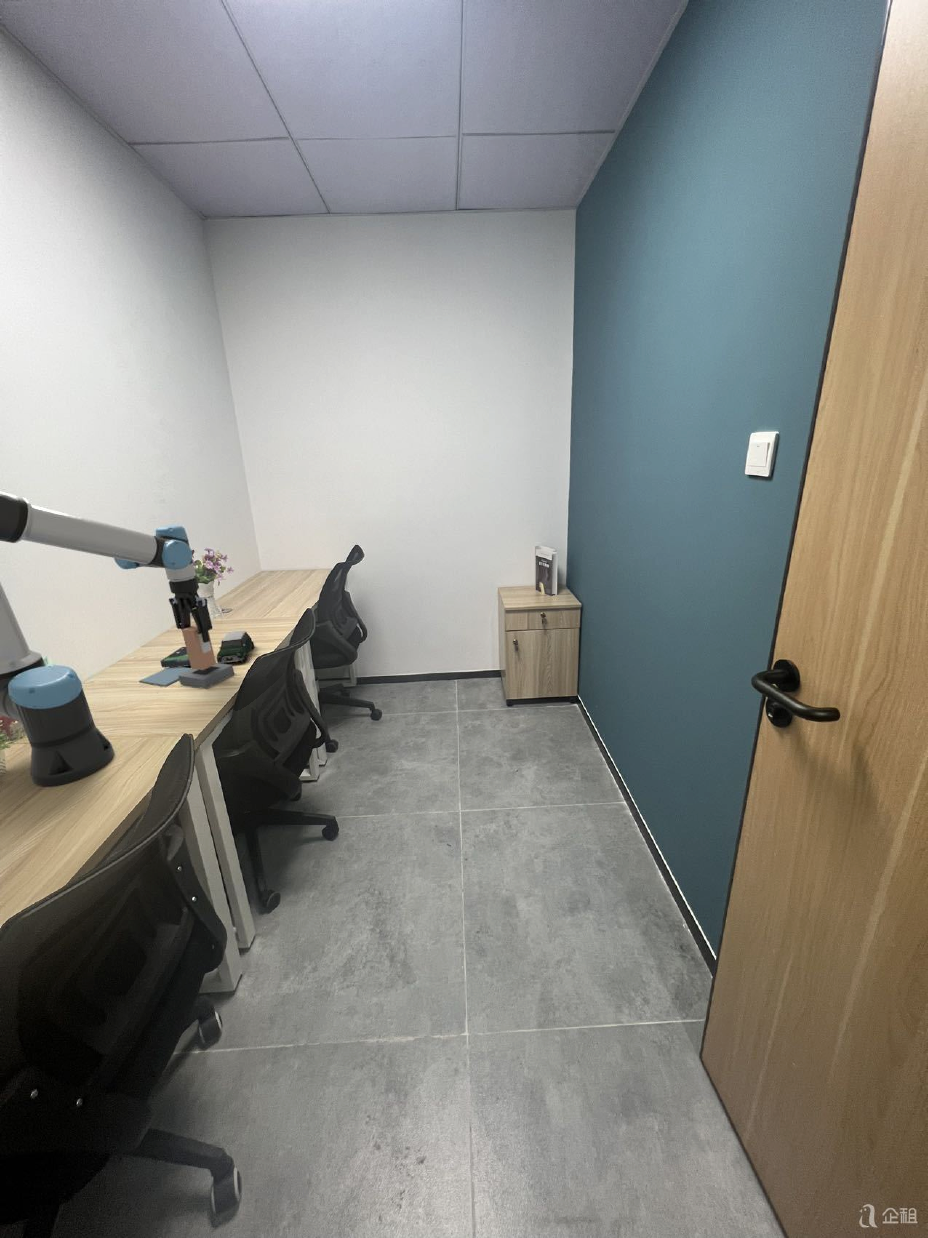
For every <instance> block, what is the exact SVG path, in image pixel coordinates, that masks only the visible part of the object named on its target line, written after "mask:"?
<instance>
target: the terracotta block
mask: <svg viewBox="0 0 928 1238" xmlns="http://www.w3.org/2000/svg"><path fill="white" fill-rule="evenodd" d="M202 629H203V628H202ZM198 632H199V630H198V628H197V625H196V623H195V624H192V625H191V626H190V627H187V628H185V629H182V630H181V633H182V636H183V640H184V645H185V647H186V649H187V653H188V657H189V661H190V668H191V669H198V670H205V669H207V668H209V667H211V666H213V665H215V664H216V663H217V660H216V657H215V653H214V652H215V651H214V649H213V648H214V647H213V643H212V641H211V636H210V635H211V634H210V630H209V631H208V635H209V639H210V641H209V642H210V646H211V651H208V652H206V653H202V649H201V645H200V641H199V637H198Z"/></svg>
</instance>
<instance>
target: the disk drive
mask: <svg viewBox="0 0 928 1238" xmlns="http://www.w3.org/2000/svg"><path fill="white" fill-rule="evenodd" d="M160 665H161V668H169V667H189V666H190V667H191V665H190V661H189V657H188V653H187V649H186V646H181V647H180V648H178V649H177V650H175V651H173V652H172V653H171V654H169V655H167V656H166V657H164V658H163V659H160Z"/></svg>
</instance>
